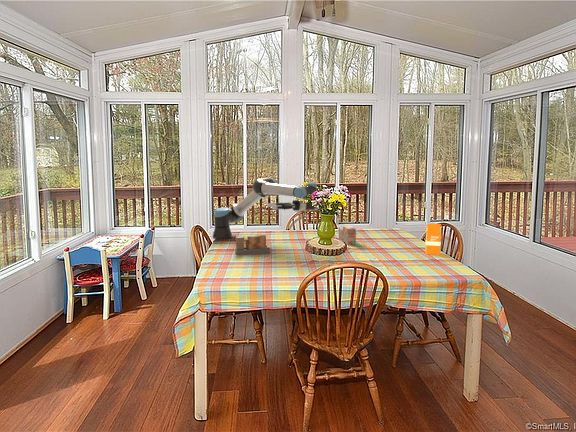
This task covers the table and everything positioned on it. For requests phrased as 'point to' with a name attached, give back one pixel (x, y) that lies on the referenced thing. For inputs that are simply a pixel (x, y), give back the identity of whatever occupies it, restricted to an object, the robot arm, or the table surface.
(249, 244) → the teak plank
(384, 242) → the table surface
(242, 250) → the base rail
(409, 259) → the table surface
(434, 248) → the orange juice
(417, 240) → the table surface
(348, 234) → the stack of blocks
